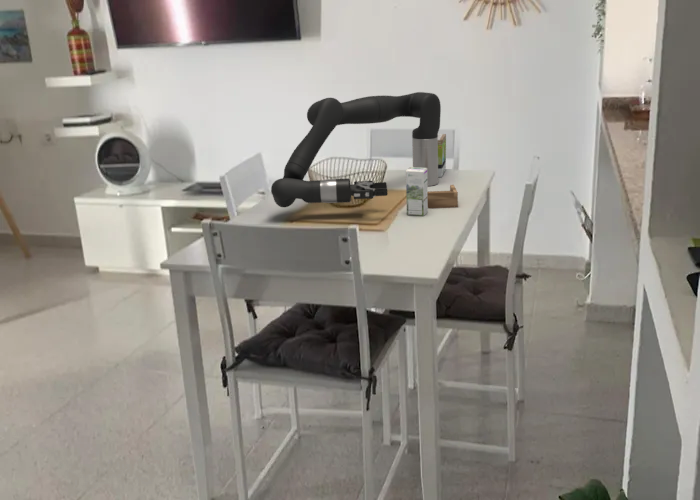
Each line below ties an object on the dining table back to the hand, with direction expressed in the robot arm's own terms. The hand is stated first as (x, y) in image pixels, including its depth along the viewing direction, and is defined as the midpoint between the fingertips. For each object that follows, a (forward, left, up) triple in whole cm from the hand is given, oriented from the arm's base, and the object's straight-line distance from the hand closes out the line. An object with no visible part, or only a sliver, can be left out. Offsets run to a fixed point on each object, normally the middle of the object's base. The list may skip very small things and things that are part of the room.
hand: (387, 188), depth 234 cm
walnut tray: (-11, +17, -8) cm, 22 cm away
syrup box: (0, +9, -9) cm, 13 cm away
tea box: (-60, +19, -9) cm, 64 cm away
